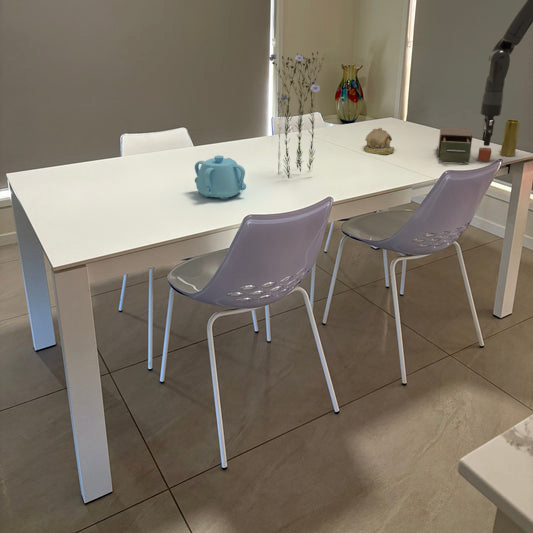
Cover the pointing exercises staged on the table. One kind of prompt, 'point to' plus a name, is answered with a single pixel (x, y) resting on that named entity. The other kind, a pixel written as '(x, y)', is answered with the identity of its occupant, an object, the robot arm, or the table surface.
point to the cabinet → (453, 134)
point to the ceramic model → (378, 142)
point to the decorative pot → (219, 177)
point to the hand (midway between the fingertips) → (485, 143)
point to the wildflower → (315, 89)
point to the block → (484, 154)
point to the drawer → (455, 149)
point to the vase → (510, 138)
